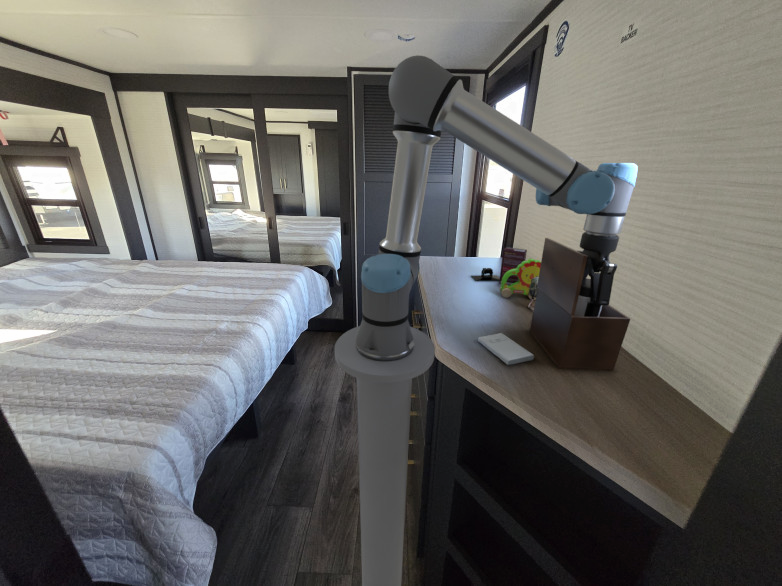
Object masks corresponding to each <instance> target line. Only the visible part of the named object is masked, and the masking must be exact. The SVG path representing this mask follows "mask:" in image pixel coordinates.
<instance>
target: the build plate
mask: <svg viewBox="0 0 782 586" xmlns="http://www.w3.org/2000/svg"><path fill="white" fill-rule="evenodd" d="M470 277H471V278H472V280H474V281H475V282H499V279H500V276H498V275H497V274H495V275H494V270H493V268H491V267H482V269H481V272H480V275H470Z"/></svg>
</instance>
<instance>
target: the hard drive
mask: <svg viewBox="0 0 782 586" xmlns="http://www.w3.org/2000/svg"><path fill="white" fill-rule="evenodd" d="M477 342H479V343H480V344H481V345H482V346H484V347H485V348H486V349H487V350H488V351H490V352H491V353H492V354H493V355H494V356H496V357H497V358H498V359H500V361H502V362H503V363H504V364H505V365H507V366H513V365H517V364H521V363H525V362H531V361H533V360H534V358H535V355H534V354H533V353H531V352H530V351H529V350H527V349H526V348H525V347H523V346H521V345H520V344H518V343H517V342H516V341H514V340H512V339H511V338H510V337H508V336H507V335H505V334H504V333H502V332H500V333H495V334H488V335H482V336H479V337H478V340H477Z"/></svg>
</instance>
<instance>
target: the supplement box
mask: <svg viewBox="0 0 782 586" xmlns="http://www.w3.org/2000/svg"><path fill="white" fill-rule="evenodd" d="M527 252H528V249H524V248H515V247H509V246H506V247H504V248H503V251H502V258H501V265H500V273H499V278H500V279H499V281H498V287H499V286H500V287H501V282H502V278H503V276H504V274H505V273H506V272H507V271H509V270H511V269H516V268H517V266H518V265H519V264H521V263H522V262H523V261H526V259H527ZM515 282H518V276H516V275H511V276H509V277H508V279H507V282H506V285H508V286H510V285H511V284H513V283H515Z"/></svg>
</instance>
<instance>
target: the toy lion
mask: <svg viewBox="0 0 782 586" xmlns="http://www.w3.org/2000/svg"><path fill="white" fill-rule="evenodd" d="M540 266H541V260H539V259H534V258H528V259H527V260H525V261H523V262H522V263H521V264H519V265H518V266H517V268H516V269H511V270H509V271H507V272H506V273H505V274H504V276H503V278H502V282H501V286H500V287H499V292H500V293H501V296H502V297H503V298H504V299H508V298H510V297H511V296H512V295H513V294H521V295H525V296H527V298H528V299H529V300H530V301H531V300H532V297H531V296H530V295H529V288H530V284H531V280H532V278H535V277H539V272H540ZM511 275H516V276H518V282H515V283H513V284H511V285H510V286H508V285H506V282H507V279H508V277H509V276H511ZM531 276H532V277H531ZM533 301H536V298H535V297H534V300H533Z"/></svg>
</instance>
